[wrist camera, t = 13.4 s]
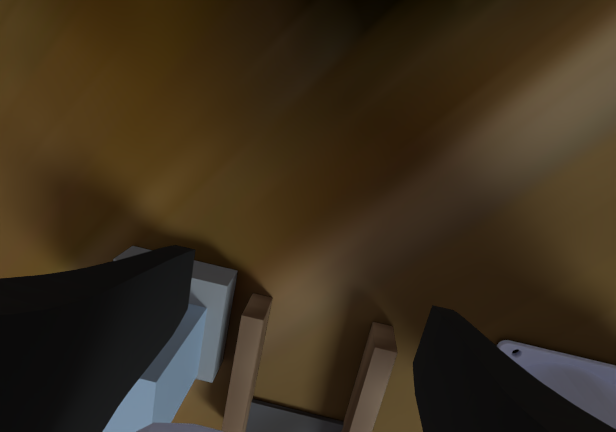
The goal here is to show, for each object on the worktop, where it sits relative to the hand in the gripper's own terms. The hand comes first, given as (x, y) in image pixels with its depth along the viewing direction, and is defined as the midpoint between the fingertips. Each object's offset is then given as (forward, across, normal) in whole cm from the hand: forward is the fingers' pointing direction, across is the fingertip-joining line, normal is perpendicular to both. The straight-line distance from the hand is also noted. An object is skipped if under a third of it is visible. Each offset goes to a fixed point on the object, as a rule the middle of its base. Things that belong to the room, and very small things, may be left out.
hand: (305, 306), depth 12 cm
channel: (+10, -1, +11) cm, 15 cm away
